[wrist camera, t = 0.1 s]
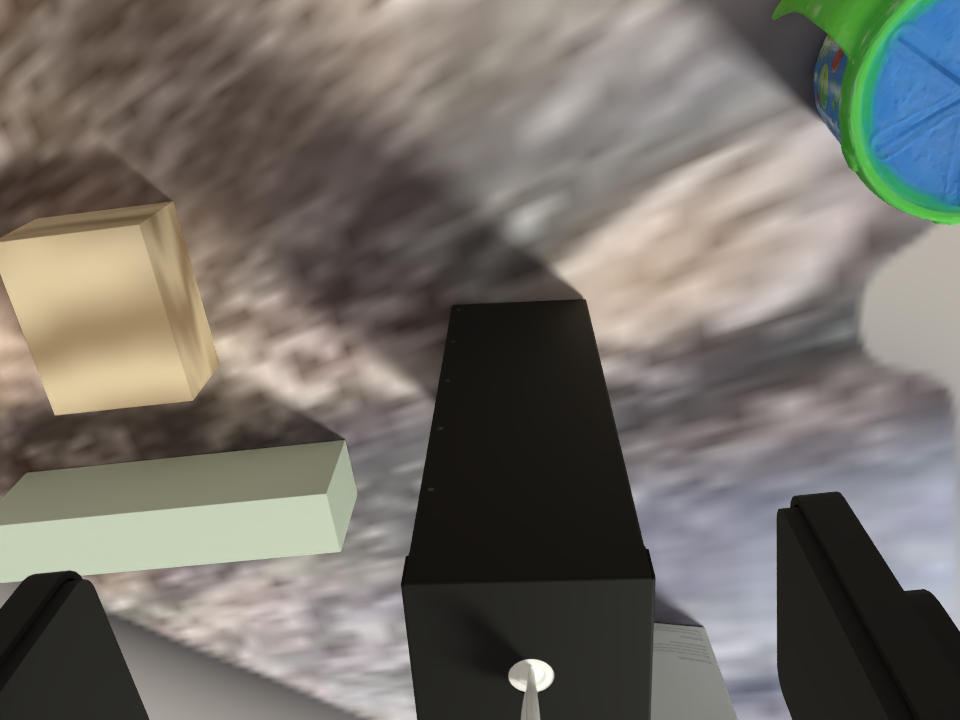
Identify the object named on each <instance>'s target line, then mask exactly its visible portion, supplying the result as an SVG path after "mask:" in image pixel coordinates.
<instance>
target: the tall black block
mask: <svg viewBox="0 0 960 720" xmlns="http://www.w3.org/2000/svg"><path fill="white" fill-rule="evenodd" d="M401 589H402V597H403V605H404V614H405V622H406V630H407V638H408V647H409V655H410V663H411V671H412V680H413V688H414V696H415V704H416V713H417V720H651V694H652V665H653V635H654V606H655V574H654V570H653V566H652V562H651V557H650V553H649V549H646V547H645V546H644V544H643V539H642V535H641V531H640V527H639V522H638V518H637V514H636V510H635V505H634V501H633V497H632V493H631V488H630V484H629V480H628V476H627V471H626V467H625V463H624V459H623V454H622V450H621V446H620V442H619V438H618V433H617V429H616V425H615V421H614V416H613V412H612V408H611V404H610V399H609V395H608V391H607V387H606V382H605V378H604V374H603V370H602V365H601V361H600V357H599V353H598V348H597V344H596V340H595V336H594V332H593V327H592V323H591V319H590V315H589V310H588V306H587V302H586V300H585V299H584V300H559V301H536V302H513V303H490V304H467V305H453V306H452V310H451V315H450V321H449V327H448V333H447V339H446V344H445V350H444V356H443V362H442V368H441V373H440V379H439V385H438V391H437V397H436V403H435V408H434V414H433V420H432V426H431V432H430V437H429V443H428V449H427V455H426V461H425V466H424V472H423V478H422V484H421V490H420V495H419V501H418V507H417V513H416V519H415V524H414V530H413V536H412V542H411V548H410V553H409V555H408V556H406V559H405V565H404V570H403V576H402V582H401Z"/></svg>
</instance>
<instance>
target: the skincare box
mask: <svg viewBox="0 0 960 720" xmlns="http://www.w3.org/2000/svg"><path fill="white" fill-rule="evenodd" d="M651 720H738V719H737V716H736V713H735V710H734V708H733V705H732V702H731V700H730V697H729V694H728V691H727V688H726V686H725V683H724V680H723V677H722V675H721V672H720V669H719V666H718V663H717V661H716V658H715V655H714V652H713V650H712V647H711V644H710V641H709V639H708V636H707V633H706V630H705V628H703V627H694V626H682V625H671V624H661V623H654V635H653V665H652V694H651Z"/></svg>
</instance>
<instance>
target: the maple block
mask: <svg viewBox="0 0 960 720" xmlns="http://www.w3.org/2000/svg"><path fill="white" fill-rule="evenodd" d="M0 274H1V277H2V279H3V282H4V285H5V287H6V290H7V292H8V295H9V298H10V300H11V303H12V305H13V308H14V311H15V313H16V316H17V318H18V321H19V324H20V326H21V329H22V331H23V334H24V336H25V339H26V342H27V344H28V347H29V349H30V352H31V355H32V357H33V360H34V362H35V365H36V368H37V370H38V373H39V375H40V378H41V381H42V383H43V386H44V388H45V391H46V394H47V396H48V399H49V401H50V404H51V406H52V409H53V412H54V414H55V415H63V414H73V413H82V412H91V411H101V410H110V409H119V408H129V407H138V406H147V405H157V404H166V403H175V402H185V401H193V400H194V399H195V397H196V396H197V394H198V393H199V392H200V390H201V389H202V388H203V386H204V385H205V384H206V382H207V381H208V379H209V378H210V377H211V375H212V374H213V373H214V371H215V370H216V369H217V367H218V366H219V360H218V357H217V353H216V350H215V346H214V343H213V339H212V336H211V332H210V329H209V325H208V322H207V318H206V315H205V311H204V307H203V304H202V300H201V297H200V293H199V290H198V286H197V283H196V279H195V276H194V272H193V269H192V265H191V262H190V258H189V255H188V251H187V248H186V244H185V241H184V237H183V234H182V230H181V227H180V223H179V220H178V216H177V213H176V209H175V206H174V202H173V201H171V202H163V203H155V204H147V205H140V206H132V207H124V208H116V209H108V210H100V211H93V212H85V213H77V214H69V215H61V216H53V217H45V218H38V219H35V220H33V221H31V222H29V223H27V224H25V225H23V226H21V227H19V228H17V229H16V230H14V231H12V232H10V233H8V234H6V235H4V236H2V237H0Z"/></svg>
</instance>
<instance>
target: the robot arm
mask: <svg viewBox="0 0 960 720" xmlns="http://www.w3.org/2000/svg"><path fill="white" fill-rule="evenodd" d="M777 668H778V676H779V681H780V686H781V690H782V693H783V696H784V699H785V701H786V704H787V707H788V709H789V712H790V715H791V717H792V720H960V631H959V630H958V628H957V627H956V625H955V624H954V622H953V621H952V620H951V618H950V617H949V615H948V614H947V612H946V611H945V609H944V608H943V606H942V605H941V604H940V602H939V601H938V600H937V599H936V597H935V596H934V595H933V594H932V593H931V592H929V591H927V590H925V589H921V590H911V591H904V590H903V589H902V587H901V586H900V584H899V582H898V581H897V579H896V578H895V576H894V575H893V573H892V572H891V570H890V568H889V567H888V565H887V564H886V562H885V561H884V559H883V558H882V556H881V554H880V553H879V551H878V550H877V548H876V547H875V545H874V543H873V542H872V540H871V539H870V537H869V536H868V534H867V533H866V531H865V529H864V528H863V526H862V525H861V523H860V522H859V520H858V518H857V517H856V515H855V514H854V512H853V511H852V509H851V508H850V506H849V504H848V503H847V501H846V500H845V498H844V497H843V496H842V494H841V493H839V492H827V493H818V494H808V495H798V496H794V497H793V498H792V500H791V506H790V508H783V509H779V510H778V512H777ZM0 720H149V717H148V715H147V713H146V710H145V708H144V705H143V703H142V700H141V698H140V696H139V693H138V691H137V688H136V686H135V684H134V681H133V679H132V676H131V674H130V672H129V669H128V667H127V664H126V662H125V660H124V657H123V655H122V653H121V650H120V648H119V645H118V643H117V641H116V638H115V635H114V633H113V631H112V628H111V626H110V623H109V621H108V619H107V616H106V614H105V611H104V609H103V607H102V604H101V602H100V599H99V597H98V595H97V592H96V590H95V588H94V586H93V584H92V583H91V582H90V581H89V580H85V579H84V580H83V579H82V577H81V576H80V575H79V574H78V573H77V572H76V571H71V570H68V571H59V572H49V573H39V574H33V575H30V576H28V577H27V578H26V579H24V580H23V581H22V583H21V584H20V585H19V586H18V588H17V589H16V590H15V591H14V593H13V594H12V595H11V596H10V598H9V599H8V600H7V601H6V602H5V604H4V605H3V606H2V608H1V609H0Z"/></svg>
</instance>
